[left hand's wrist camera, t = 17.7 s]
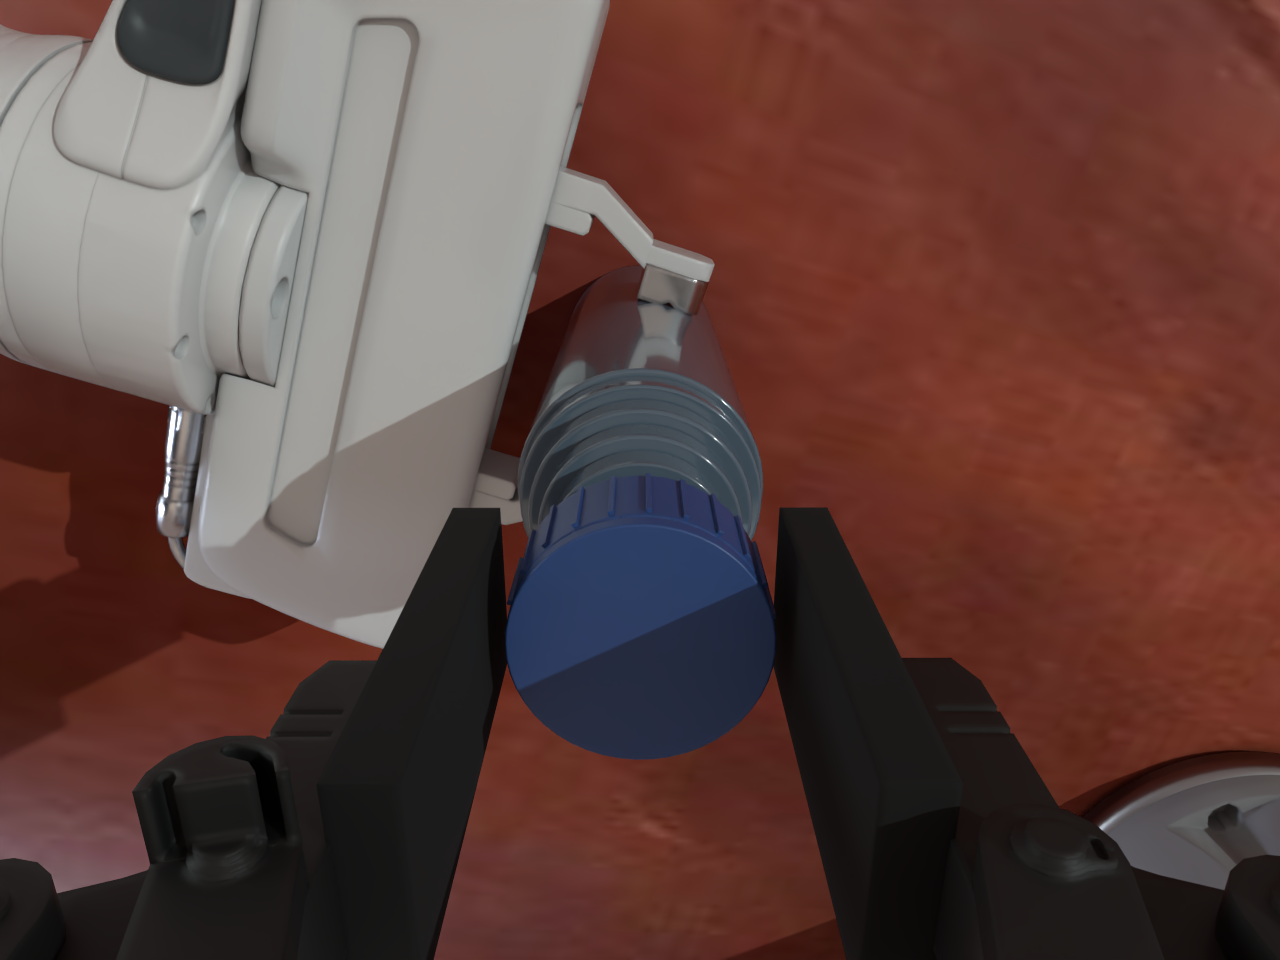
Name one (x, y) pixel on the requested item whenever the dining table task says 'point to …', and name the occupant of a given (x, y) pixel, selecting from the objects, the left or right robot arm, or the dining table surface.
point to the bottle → (639, 406)
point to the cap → (640, 619)
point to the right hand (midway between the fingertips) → (670, 391)
